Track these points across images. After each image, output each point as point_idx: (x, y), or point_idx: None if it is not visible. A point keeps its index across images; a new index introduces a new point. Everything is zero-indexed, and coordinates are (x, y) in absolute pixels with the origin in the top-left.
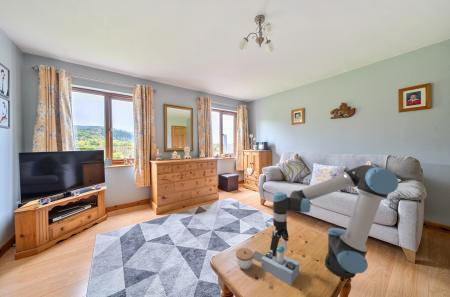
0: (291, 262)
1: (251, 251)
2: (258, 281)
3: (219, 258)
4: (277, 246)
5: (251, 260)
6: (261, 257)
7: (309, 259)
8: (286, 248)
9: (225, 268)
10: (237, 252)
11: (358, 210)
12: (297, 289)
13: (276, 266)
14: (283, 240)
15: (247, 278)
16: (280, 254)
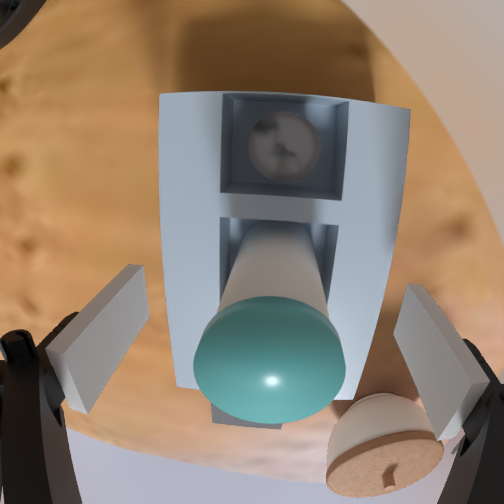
0: (259, 147)
1: (347, 465)
2: (453, 306)
3: None
4: (488, 438)
5: (404, 421)
6: None
7: (19, 121)
8: (118, 286)
9: None
10: (400, 487)
11: None
12: (376, 67)
13: (389, 268)
14: (80, 395)
15: None
16: (326, 308)
